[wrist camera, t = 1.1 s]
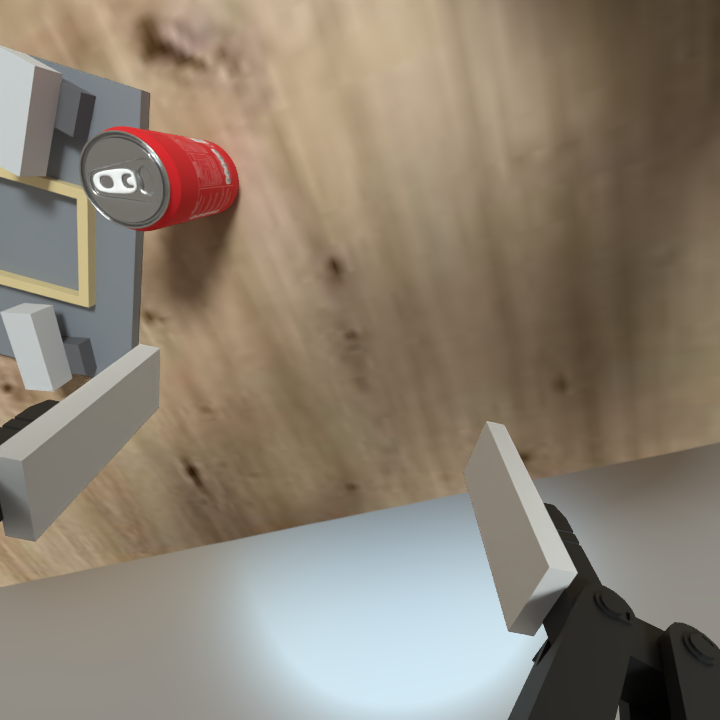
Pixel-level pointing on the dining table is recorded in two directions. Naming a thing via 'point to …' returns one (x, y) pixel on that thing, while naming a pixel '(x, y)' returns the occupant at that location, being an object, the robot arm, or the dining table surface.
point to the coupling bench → (62, 225)
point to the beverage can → (155, 177)
